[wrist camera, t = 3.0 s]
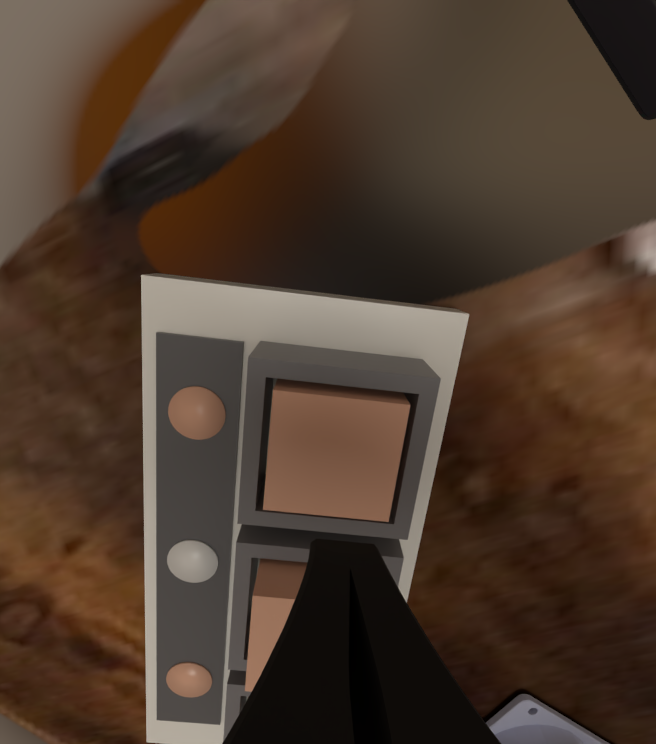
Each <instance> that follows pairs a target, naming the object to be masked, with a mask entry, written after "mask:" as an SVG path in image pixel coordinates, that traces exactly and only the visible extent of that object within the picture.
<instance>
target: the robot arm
mask: <svg viewBox="0 0 656 744" xmlns="http://www.w3.org/2000/svg"><path fill="white" fill-rule="evenodd" d="M222 744H609V743H608V742H606V741H604V740H603V739H601V738H600V737H598V736H596V735H595V734H593V733H591V732H590V731H588V730H586V729H585V728H583V727H581V726H580V725H578V724H576V723H575V722H573V721H571V720H570V719H568V718H567V717H565V716H563V715H562V714H560V713H558V712H557V711H555V710H553V709H552V708H550V707H548V706H547V705H545V704H543V703H542V702H540V701H538V700H537V699H535V698H534V697H532V696H530V695H528V694H520V695H518V696H517V697H515V698H514V699H513V700H512V701H511V702H509V703H508V704H507V705H506V706H505V707H504V708H502V709H501V710H500V711H499V712H498V713H496V714H495V715H494V716H493V717H492V718H491V719H489V720H488V721H487V722H486V723H485V721H484V720H483V719H482V717H481V716H480V715H479V713H478V712H477V710H476V709H475V708H474V706H473V705H472V703H471V702H470V701H469V699H468V698H467V696H466V695H465V694H464V692H463V691H462V689H461V688H460V686H459V685H458V683H457V682H456V680H455V679H454V677H453V676H452V674H451V673H450V671H449V670H448V669H447V667H446V666H445V664H444V663H443V661H442V659H441V658H440V656H439V655H438V653H437V652H436V650H435V649H434V647H433V646H432V644H431V642H430V641H429V639H428V637H427V636H426V634H425V633H424V631H423V629H422V628H421V626H420V624H419V623H418V621H417V619H416V618H415V616H414V615H413V613H412V611H411V609H410V608H409V606H408V604H407V603H406V601H405V599H404V597H403V596H402V594H401V592H400V590H399V588H398V587H397V585H396V583H395V581H394V579H393V577H392V575H391V574H390V572H389V570H388V568H387V566H386V564H385V562H384V560H383V558H382V556H381V554H380V552H379V550H378V548H377V547H376V546H375V545H374V544H369V543H359V542H348V541H338V540H327V539H315V540H314V541H312V542H311V543H310V551H309V558H308V563H307V566H306V570H305V573H304V576H303V579H302V582H301V585H300V588H299V591H298V594H297V596H296V599H295V601H294V603H293V606H292V608H291V611H290V613H289V616H288V618H287V621H286V623H285V625H284V628H283V630H282V632H281V634H280V636H279V638H278V640H277V642H276V644H275V647H274V649H273V651H272V653H271V655H270V657H269V659H268V661H267V663H266V665H265V667H264V669H263V671H262V673H261V675H260V677H259V679H258V681H257V683H256V685H255V687H254V688H253V690H252V692H251V694H250V696H249V698H248V700H247V701H246V703H245V705H244V707H243V709H242V710H241V712H240V714H239V716H238V717H237V719H236V721H235V723H234V724H233V726H232V728H231V730H230V731H229V733H228V735H227V737H226V738H225V740H224V742H223V743H222Z"/></svg>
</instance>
